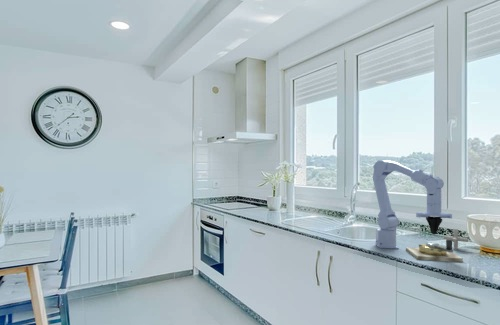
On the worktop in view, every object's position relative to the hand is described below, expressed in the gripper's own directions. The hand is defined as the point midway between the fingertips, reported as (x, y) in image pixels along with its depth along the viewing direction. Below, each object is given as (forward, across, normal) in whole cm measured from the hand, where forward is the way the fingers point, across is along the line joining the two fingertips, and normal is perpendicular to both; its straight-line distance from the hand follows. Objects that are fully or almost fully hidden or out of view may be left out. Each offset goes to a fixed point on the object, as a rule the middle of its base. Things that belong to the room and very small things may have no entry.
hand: (433, 233), depth 143 cm
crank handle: (+9, +1, -1) cm, 9 cm away
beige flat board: (+10, 0, +1) cm, 10 cm away
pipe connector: (+10, +17, +16) cm, 26 cm away
